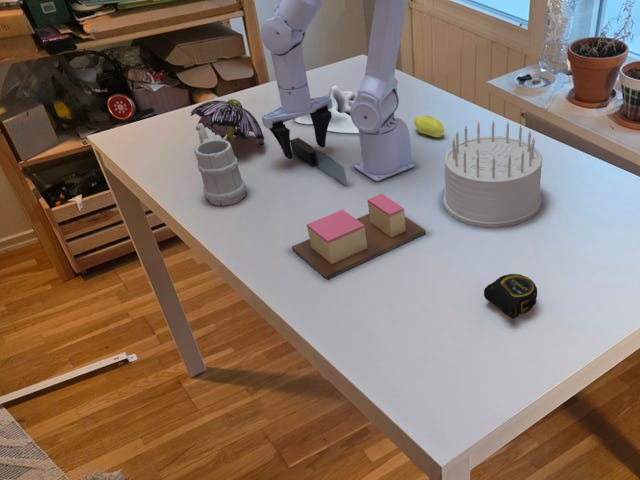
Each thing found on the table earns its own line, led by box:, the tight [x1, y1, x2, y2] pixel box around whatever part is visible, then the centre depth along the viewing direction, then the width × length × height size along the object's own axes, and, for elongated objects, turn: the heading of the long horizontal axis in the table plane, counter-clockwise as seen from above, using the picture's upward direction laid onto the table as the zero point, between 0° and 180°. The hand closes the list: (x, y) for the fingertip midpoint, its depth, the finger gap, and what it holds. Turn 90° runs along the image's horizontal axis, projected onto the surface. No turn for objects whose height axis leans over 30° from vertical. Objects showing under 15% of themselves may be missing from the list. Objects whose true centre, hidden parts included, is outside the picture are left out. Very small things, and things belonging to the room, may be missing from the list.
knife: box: [290, 137, 348, 187], centre depth 129 cm, size 2×19×4 cm, turn 40°
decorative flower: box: [190, 98, 265, 151], centre depth 134 cm, size 14×12×15 cm
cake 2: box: [442, 120, 543, 228], centre depth 115 cm, size 18×18×13 cm
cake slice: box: [367, 193, 406, 237], centre depth 111 cm, size 3×6×4 cm, turn 39°
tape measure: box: [483, 273, 538, 320], centre depth 96 cm, size 7×7×4 cm
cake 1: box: [306, 209, 367, 264], centre depth 107 cm, size 7×6×4 cm
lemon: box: [413, 115, 445, 138], centre depth 139 cm, size 4×8×4 cm, turn 45°
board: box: [291, 213, 426, 280], centre depth 110 cm, size 20×11×1 cm, turn 130°
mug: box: [194, 123, 247, 207], centre depth 120 cm, size 8×12×12 cm, turn 33°
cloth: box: [294, 85, 359, 135], centre depth 147 cm, size 22×19×6 cm
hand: (305, 151), depth 132 cm, fingers open, 7 cm apart
